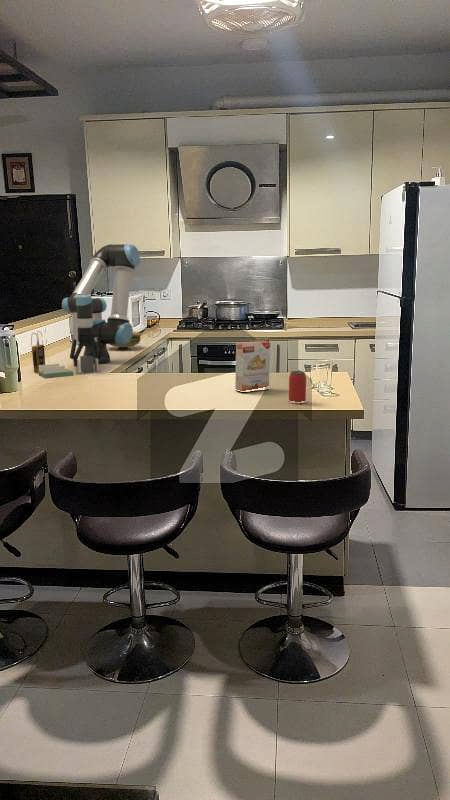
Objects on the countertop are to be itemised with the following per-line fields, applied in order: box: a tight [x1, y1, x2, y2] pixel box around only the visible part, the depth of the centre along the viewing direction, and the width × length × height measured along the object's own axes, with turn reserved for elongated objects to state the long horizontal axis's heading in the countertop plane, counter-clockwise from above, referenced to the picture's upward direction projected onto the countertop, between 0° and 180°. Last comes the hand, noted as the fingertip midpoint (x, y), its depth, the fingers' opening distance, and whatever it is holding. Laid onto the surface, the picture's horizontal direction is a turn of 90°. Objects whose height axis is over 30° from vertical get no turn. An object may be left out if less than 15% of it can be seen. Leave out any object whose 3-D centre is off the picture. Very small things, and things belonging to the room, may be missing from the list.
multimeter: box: [30, 330, 46, 375], centre depth 309 cm, size 15×10×20 cm
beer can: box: [288, 370, 307, 402], centre depth 239 cm, size 7×7×12 cm
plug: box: [79, 355, 95, 374], centre depth 307 cm, size 5×5×8 cm
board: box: [38, 363, 74, 379], centre depth 299 cm, size 14×9×5 cm, turn 124°
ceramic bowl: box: [108, 331, 143, 351], centre depth 390 cm, size 30×24×10 cm
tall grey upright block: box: [71, 312, 103, 345], centre depth 409 cm, size 19×15×28 cm
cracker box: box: [234, 340, 271, 391], centre depth 260 cm, size 14×6×21 cm, turn 122°
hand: (87, 371), depth 308 cm, fingers open, 9 cm apart
